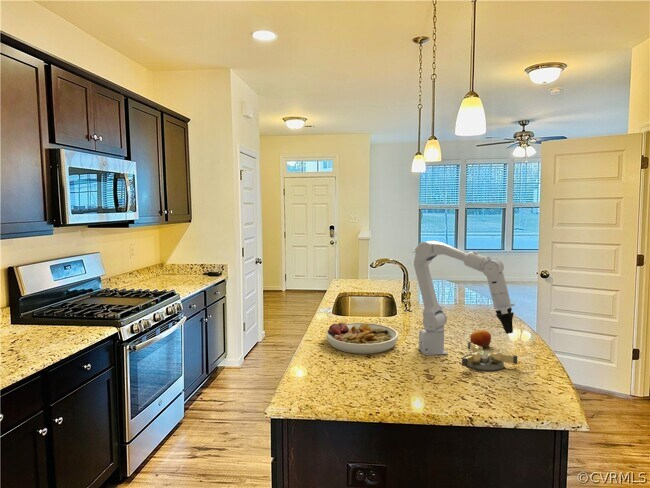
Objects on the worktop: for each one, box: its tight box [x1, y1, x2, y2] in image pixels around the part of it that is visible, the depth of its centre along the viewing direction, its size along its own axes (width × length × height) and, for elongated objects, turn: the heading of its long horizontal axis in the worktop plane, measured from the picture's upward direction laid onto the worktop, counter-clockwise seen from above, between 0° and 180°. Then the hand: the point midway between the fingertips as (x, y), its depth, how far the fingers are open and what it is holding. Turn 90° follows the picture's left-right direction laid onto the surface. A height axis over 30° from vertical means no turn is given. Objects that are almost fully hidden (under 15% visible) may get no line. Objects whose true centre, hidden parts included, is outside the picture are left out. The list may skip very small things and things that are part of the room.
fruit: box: [469, 329, 492, 348], centre depth 170 cm, size 8×8×8 cm
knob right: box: [490, 350, 518, 365], centre depth 148 cm, size 9×4×4 cm, turn 65°
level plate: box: [462, 350, 505, 372], centre depth 151 cm, size 14×14×4 cm
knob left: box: [461, 352, 481, 367], centre depth 147 cm, size 9×4×4 cm, turn 125°
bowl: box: [326, 322, 399, 355], centre depth 175 cm, size 30×30×8 cm
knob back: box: [467, 341, 484, 352], centre depth 158 cm, size 9×4×4 cm, turn 5°
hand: (508, 330), depth 146 cm, fingers open, 7 cm apart
